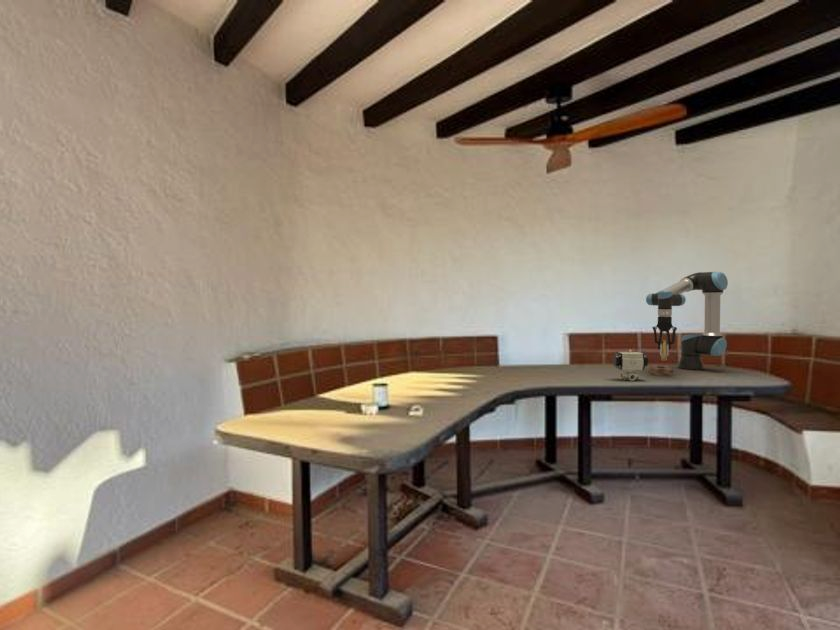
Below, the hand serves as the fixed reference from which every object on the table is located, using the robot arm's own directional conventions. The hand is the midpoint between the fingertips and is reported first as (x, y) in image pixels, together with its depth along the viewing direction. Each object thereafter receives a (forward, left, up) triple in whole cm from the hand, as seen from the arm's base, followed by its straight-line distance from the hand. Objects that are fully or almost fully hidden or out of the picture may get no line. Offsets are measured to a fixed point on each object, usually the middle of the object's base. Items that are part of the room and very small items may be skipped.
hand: (664, 354), depth 290 cm
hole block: (0, -14, -14) cm, 20 cm away
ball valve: (+19, +17, -14) cm, 29 cm away
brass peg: (0, 0, -3) cm, 3 cm away
